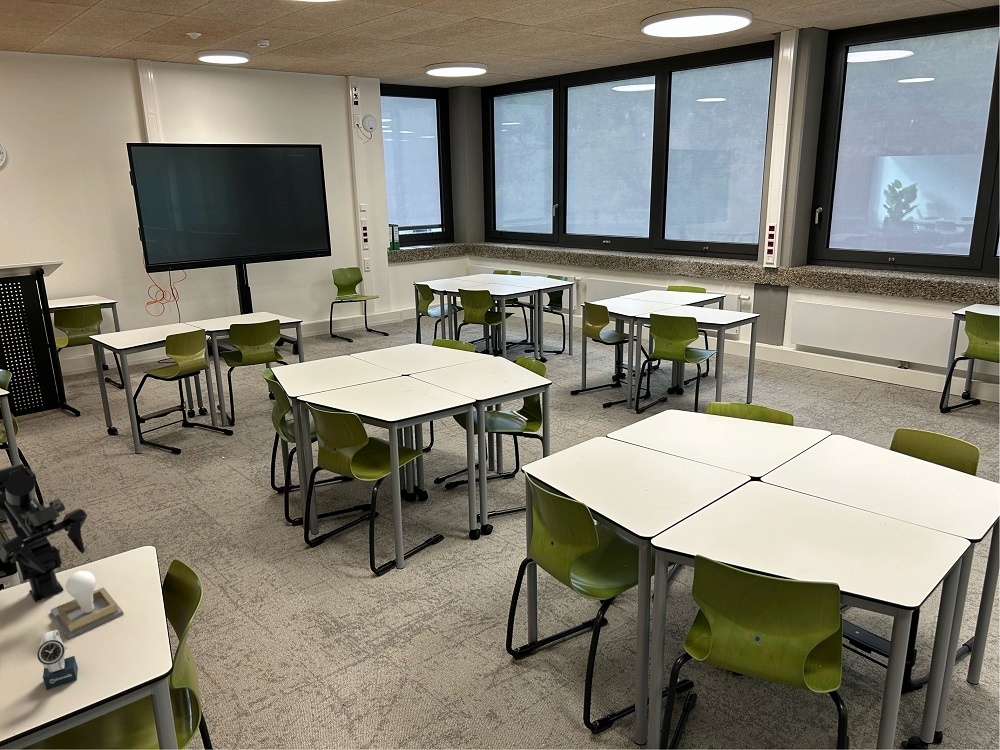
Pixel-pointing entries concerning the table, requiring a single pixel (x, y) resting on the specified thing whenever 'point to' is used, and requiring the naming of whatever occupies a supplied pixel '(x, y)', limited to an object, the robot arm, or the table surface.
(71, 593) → the lightbulb
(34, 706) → the table surface
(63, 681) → the watch
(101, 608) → the socket plate
